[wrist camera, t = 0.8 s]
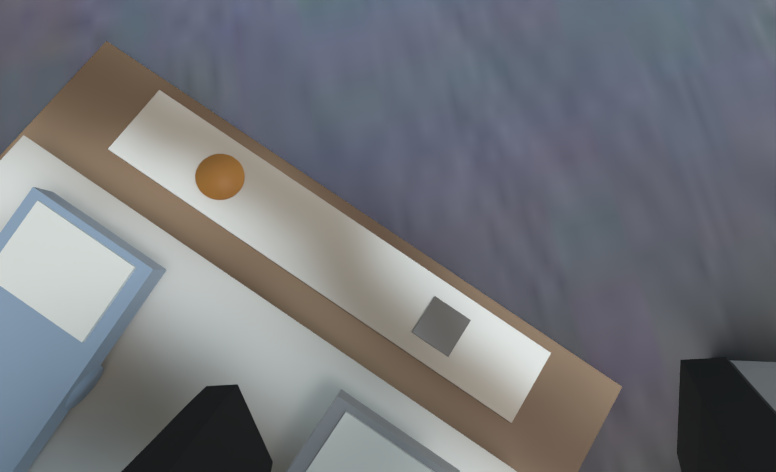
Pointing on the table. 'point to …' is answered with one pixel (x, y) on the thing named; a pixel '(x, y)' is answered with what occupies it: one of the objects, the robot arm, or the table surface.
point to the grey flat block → (362, 444)
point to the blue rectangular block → (59, 315)
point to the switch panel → (281, 296)
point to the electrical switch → (760, 378)
